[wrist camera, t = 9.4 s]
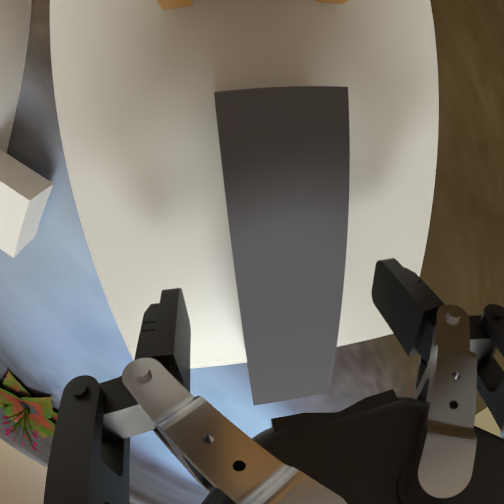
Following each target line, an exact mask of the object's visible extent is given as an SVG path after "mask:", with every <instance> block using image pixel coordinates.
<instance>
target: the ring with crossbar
mask: <svg viewBox="0 0 504 504" xmlns="http://www.w3.org/2000/svg"><path fill="white" fill-rule="evenodd" d="M31 3H32V0H0V249H1V250H3V251H4V252H6V253H7V254H9V255H10V256H12V257H13V258H14V257H15V256H16V255H17V254H18V253H19V252H20V251H21V250H22V249H23V248H24V247H25V246H26V245H27V244H28V243H29V242H30V241H31V240H32V239H33V238H34V237H35V236H36V233H37V229H38V226H39V223H40V220H41V217H42V214H43V211H44V209H45V206H46V203H47V200H48V198H49V195H50V192H51V190H52V187H53V185H54V183H52V182H50V181H49V180H47V179H46V178H44V177H42V176H41V175H39V174H38V173H36V172H35V171H33V170H31V169H30V168H28V167H27V166H25V165H24V164H22V163H21V162H19V161H17V160H16V159H14V158H13V157H11V156H10V155H8V154H7V149H8V145H9V140H10V136H11V132H12V127H13V123H14V118H15V114H16V109H17V104H18V99H19V94H20V88H21V83H22V77H23V71H24V65H25V59H26V52H27V45H28V37H29V29H30V18H31Z"/></svg>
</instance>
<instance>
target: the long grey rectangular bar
mask: <svg viewBox="0 0 504 504" xmlns="http://www.w3.org/2000/svg"><path fill="white" fill-rule="evenodd" d="M214 98H215V108H216V118H217V127H218V136H219V145H220V154H221V163H222V172H223V180H224V189H225V197H226V206H227V214H228V222H229V230H230V238H231V246H232V254H233V262H234V269H235V277H236V285H237V292H238V300H239V307H240V314H241V322H242V329H243V336H244V343H245V350H246V357H247V364H248V371H249V377H250V384H251V390H252V397H253V403H254V405H259V404H266V403H272V402H278V401H284V400H290V399H295V398H301V397H306V396H311V395H316V394H320V393H325V392H330V387H331V381H332V375H333V368H334V362H335V355H336V348H337V340H338V332H339V324H340V316H341V307H342V297H343V287H344V276H345V263H346V249H347V233H348V213H349V179H350V131H349V98H348V87H339V86H291V87H267V88H252V89H240V90H229V91H220V92H214Z"/></svg>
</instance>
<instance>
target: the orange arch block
mask: <svg viewBox="0 0 504 504" xmlns="http://www.w3.org/2000/svg"><path fill="white" fill-rule="evenodd" d="M157 1H158V3H159V4H160V6H161V8H162V9H163V10H168V9H173V8H180V7H186V6H193V0H157ZM347 1H349V0H316V2H325V3H335V4H344V3H345V2H347Z"/></svg>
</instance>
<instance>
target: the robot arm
mask: <svg viewBox="0 0 504 504" xmlns="http://www.w3.org/2000/svg"><path fill="white" fill-rule="evenodd" d="M371 294H372V300H373V303H374V305H375V306H376V308H377V309H378V311H379V312H380V314H381V315H382V317H383V318H384V320H385V321H386V323H387V324H388V326H389V327H390V329H391V330H392V332H393V333H394V335H395V336H396V338H397V339H398V341H399V342H400V344H401V345H402V347H403V348H404V350H405V352H406V353H407V355H408V356H412V355H415V354H418V353H419V354H420V355H421V357H420V360H419V363H418V368H417V373H416V378H415V383H414V388H413V393H412V397H411V398H408V397H397V396H396V394H395V392H394V390H393V389H392V390H389V391H386V392H383V393H380V394H377V395H373V396H370V397H366V398H364V399H363V400H361V401H359V402H357V403H355V404H354V405H352V406H350V407H348V408H346V409H344V410H342V411H340V412H336V413H301V414H296V415H290V416H285V417H279V418H273V419H271V422H272V428H270V429H267V430H265V431H263V432H261V433H259V434H258V435H256V436H255V437H253V438H252V439H251V438H250V437H248V436H247V435H246V434H245V433H244V432H242V431H241V430H240V429H239V428H237V427H236V426H235V425H234V424H233V423H231V422H230V421H229V420H228V419H227V418H226V417H224V416H223V415H222V414H221V413H220V412H219V411H218V410H216V409H215V408H214V407H213V406H212V405H211V404H210V403H209V402H207V401H206V400H205V399H204V398H202V397H201V396H197V397H194V396H193V395H191V394H190V347H191V327H190V321H189V316H188V312H187V308H186V304H185V300H184V296H183V292H182V289H181V288H174V289H165V290H162V292H161V298H160V303H155V304H150V306H149V307H148V308H147V310H146V311H145V312H144V315H143V320H142V324H141V329H140V333H139V338H138V343H137V348H136V353H135V358H134V361H132V362H131V363H129V364H128V365H127V366H126V367H125V369H124V370H123V373H122V376H120V377H118V378H116V379H113V380H109V381H106V382H103V383H100V384H99V383H98V381H97V380H96V379H95V378H93V377H91V376H86V375H84V376H79V377H76V378H74V379H72V380H71V381H70V382H69V383H68V384H67V385H66V386H65V388H64V391H63V394H62V398H61V403H60V407H59V411H58V416H57V420H56V425H55V430H54V435H53V440H52V445H51V451H50V457H49V463H48V470H47V477H46V486H45V494H44V504H129V454H130V437H131V436H134V435H138V434H141V433H144V432H147V431H151V430H153V431H154V432H155V434H156V435H157V436H158V437H159V438H160V440H161V441H162V442H163V443H164V444H165V445H166V446H167V448H168V449H169V450H170V451H171V452H172V453H173V454H174V455H175V457H176V458H177V459H178V460H179V461H180V462H181V463H182V464H183V466H184V467H185V468H186V469H187V470H188V471H189V473H190V474H191V475H192V476H193V477H194V478H195V479H196V480H197V481H198V482H199V483H200V484H201V485H202V486H203V487H204V488H205V489H206V490H207V491H208V492H209V494H208V496H207V497H206V498H205V500H204V501H203V502H202V504H504V371H503V370H502V369H501V367H500V366H499V364H498V363H497V361H496V360H495V359H494V355H495V353H496V351H497V349H498V350H499V351H500V352H501V354H502V355H503V357H504V308H503V307H501V306H499V305H495V304H490V305H487V306H486V307H485V308H484V311H483V313H482V315H481V316H468V314H467V313H466V312H465V311H464V310H463V309H462V308H460V307H458V306H455V305H445V304H444V303H443V302H442V301H441V300H440V299H439V298H438V296H437V295H436V294H435V293H434V292H433V291H432V290H431V289H430V288H429V287H427V285H426V283H425V282H424V281H423V282H422V279H421V278H420V277H419V276H418V275H417V274H416V273H415V272H413V271H411V270H409V269H408V268H406V267H405V268H404V267H403V266H402V265H401V264H400V263H399V262H398V261H397V260H396V259H395V258H390V259H384V260H378V261H377V262H376V265H375V272H374V278H373V285H372V292H371ZM476 389H477V390H478V391H479V393H480V395H481V396H482V398H483V400H484V401H485V403H486V405H487V407H488V408H489V410H490V411H491V414H492V415H493V417H494V419H495V421H496V423H497V424H498V426H499V428H500V430H501V438H500V437H498V436H496V435H494V434H491V433H489V432H487V431H485V430H483V429H480V428H478V427H476V426H474V421H475V408H476Z"/></svg>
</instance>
